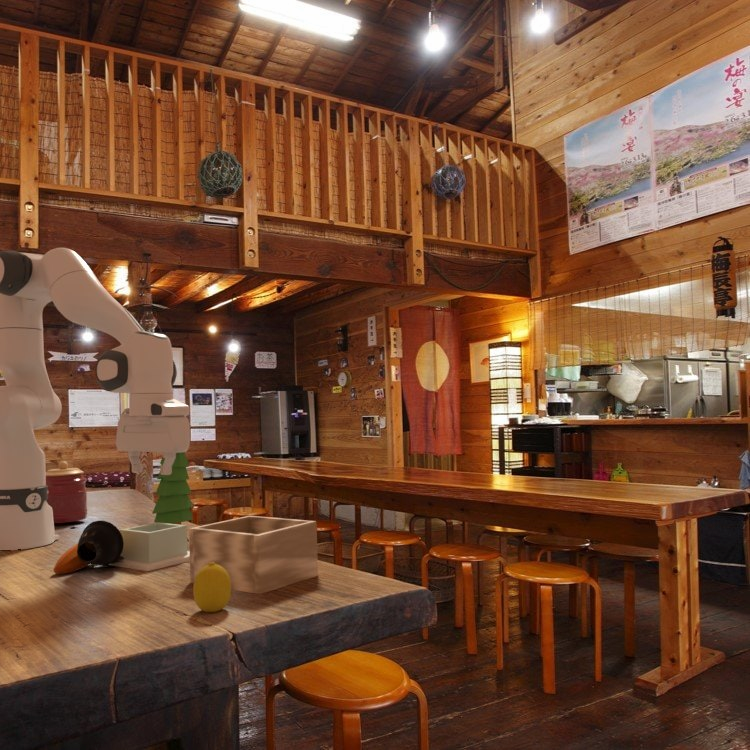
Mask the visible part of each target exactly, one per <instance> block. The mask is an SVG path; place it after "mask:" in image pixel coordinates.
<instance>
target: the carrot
mask: <svg viewBox="0 0 750 750" xmlns="http://www.w3.org/2000/svg"><path fill="white" fill-rule="evenodd" d="M77 550H78V543H76V544H75V545H73V546H71V547H69V548H68V549H67V550H66V551H65V552H64V553H63V554H62V555H61V556H60V557H59V558H58V560H57V562H56V564H55V565H54V567H53V569H52V570H53V573H55V574H59V575H62V574H67V573H69V574H70V573H72V572H75V571H78V570H81V569H83V568H85V567H88V566H89V565H90V564H89V563H85V562H83V561H81V560H80V559H79V557H78V555H77ZM86 550H87V552H88V554H89V555H90V556H92V555H91V554H90V552H89V551H88V548H86ZM92 557H94V556H92Z"/></svg>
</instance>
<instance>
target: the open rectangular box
mask: <svg viewBox="0 0 750 750" xmlns="http://www.w3.org/2000/svg"><path fill="white" fill-rule="evenodd" d="M119 531H120V532H121V534H122V537H123V542H124V546H123V551H122V553H121V556H123V557H124V558H125V559H123V560H121V561H120V562H118V563H115V564H113V563H109V565H108V566H113V567H117V568H118V567H120V568H126V569H131V570H138V571H144V572H149V571H150V572H151V571H153V570H158V569H161V568H167V567H169V566H170V567H171V566H175V565H181V564H183V563H187V562H190V550H188V541H187V538H188V525H186V524H182V525H179V524H169V523H159V522H157V523H155V522H152V523H147V524H143V525H138V526H132V527H127V528H122V529H119Z"/></svg>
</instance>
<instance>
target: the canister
mask: <svg viewBox="0 0 750 750" xmlns="http://www.w3.org/2000/svg"><path fill="white" fill-rule="evenodd" d="M84 473H85V472H84V471H83V470H82V469H80V468H79V467H69V464H68V462H67V461H65V460H64V461H61V462H59V464H58V468H51V469H47V471H46V485H47V486H48V499H47V500H46V501H47V503H48V505H49V506H51V507H52V511H53V521H54V524H64V523H66V524H67V523H72V522H79V521H83V520H85V519H87V516H88V508H87V507H88V506H87V505H88V503H87V501H88V500H87V499H88V498H87V491H88V489H86V488H87V487H86V482H87V481H88V479H87V478H86V477H84V475H83V474H84Z"/></svg>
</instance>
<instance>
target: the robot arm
mask: <svg viewBox="0 0 750 750" xmlns="http://www.w3.org/2000/svg"><path fill="white" fill-rule="evenodd" d="M48 304H49V305H51V306H52V307H54V308H56V310H57V311H58V312H60V314H61V315H62V316H63V317H64V318H65V319H67V320H68V321H70V322H71V323H74V324H76V325H79V326H84V327H87V328H91V329H94V330H97V331H100V332H103V333H105V334H108V335H110V336H111V337H113V338H114V339H116V340H117V341H118V342H119V343H120V345H119V346H116V347H114V348H112V349H106V350H105V351H104V352H102V353H101V355H100V356H99V357H98V359H97V361H96V364H95V369H94V370H95V371H94V374H95V378H96V382H97V383H98V385H99V386H100V388H101V389H102V390H103V391H106V392H110V393H114V394H128V398H129V399H128V401H129V402H128V403H129V405H128V408H127V407H126V408H125V409H124V410H123V411H122V412H121V414H120V418H119V420H118V422H117V429H116V435H115V436H116V437H115V439H116V440H115V446H116V449H117V450H118V451H120V452H127V456H128V457H127V458H128V459H129V462H130V464H131V472H132V473H133V474H139V473H140V474H141V473H143V472H144V464H143V463H141V460H140V456H141V453H142V452H143V453H145V452H146V453H162V457H163V458H165V460H164V463H163V466H162V465H160V466H159V467H160V468H159V472H160V474H161V475H170V474H171V473H172V465H173V463H174V460H175V458H176V453H182V452H185V453H187V451H188V450H189V448H190V443H191V429H190V428H191V426H190V420H189V419H188V417H187V416H189V415H190V413H191V412H190V411H191V409H190V406H189V405H188V404H185V403H183V402H182V401H180V400H177V399H176V398H174V390H173V385H174V384H175V382H176V380H177V375H178V372H177V371H178V370H177V366H176V364H175V360H174V354H173V353H174V352H173V347H172V342H171V340H170V338H169V337H168V336H167V335H166V334H164V333H159V332H151V331H145V329H144V328H143V327H142V326H141V324H140V323H139V322H138V320H137V319H136V318H135V317H134V316H133V314H132V313H130V311H128V310H127V308H125V307H124V306H123V305H122V304H121V303H120V302H118V301H117V299H115V297H113V296H112V294H111V293H109V291H108V290H107V289H106V288H105V287H104V286H103V285H102V283H101V282H100V280H99V279H98V277H97V276H96V274H95V273H94V271H93V270H92V269H91V267H90V265H88V264H87V263H86V261H85V260H84V259H83V258H82V257H81V256H80V255H79V254H78V253H77V252H76V251H74V250H72V249H70V248H67V247H56V248H53V249H50V250H49V251H47V252H45V253H44V254H41V253H31V252H29V253H28V252H20V251H16V250H0V373H1V374H2V377H3V379H4V382H5V385H0V550H11V551H19V550H18V549H21V550H28V549H33V548H39V547H44V546H47V545H50V544H53V543H54V541H57V540H59V539H60V535H59V534H56V533H55V523H54V521H53V511H52V507H51V506H49V505H48V503H47V501H46V500H47V499H48V486H47V485H46V472H47V471H46V469H47V468H46V465H47V464H46V460H47V459H46V453H45V452H44V451H43V449H41V447H40V446H39V443H38V441H37V439H36V438H37V437H36V435H35V432H34V431H36V430H41V429H44V428H47V427H49V426H51V425H53V424H54V423H56V422H57V421H58V419H60V416H61V413H62V409H63V407H62V402H61V399H60V398H59V396H58V395H57V394H56V393H55V391H54V390H53V387H52V385H51V384H52V383H51V381H50V379H49V375H48V372H47V368H46V360H45V350H44V349H45V348H44V344H45V343H44V324H43V311H44V308H45V307H46V306H47V305H48ZM160 470H161V471H160Z"/></svg>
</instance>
